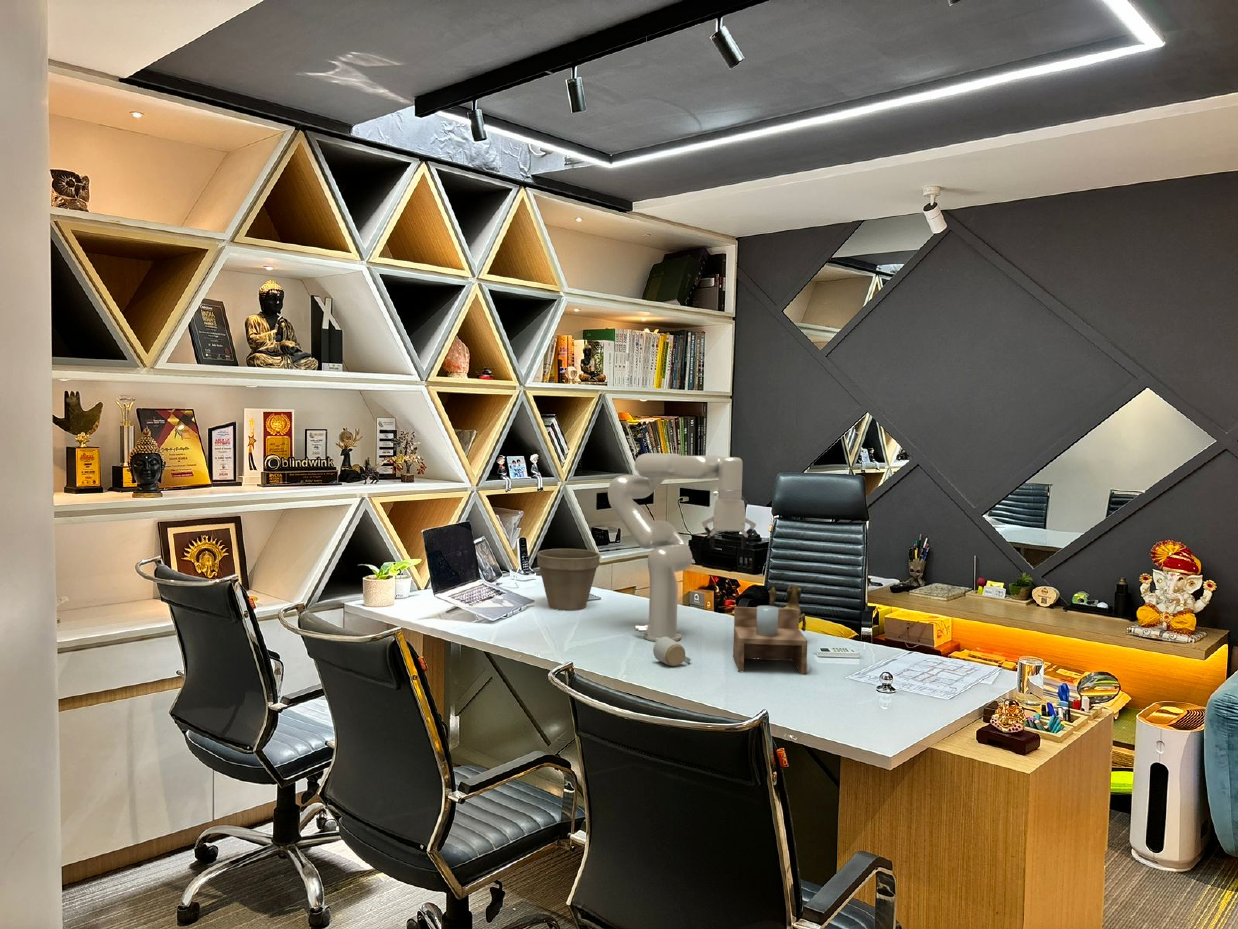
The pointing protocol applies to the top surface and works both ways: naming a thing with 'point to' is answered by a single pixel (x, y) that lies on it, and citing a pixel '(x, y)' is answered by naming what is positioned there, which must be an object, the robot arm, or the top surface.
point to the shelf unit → (769, 638)
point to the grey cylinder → (767, 621)
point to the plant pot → (567, 576)
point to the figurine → (790, 601)
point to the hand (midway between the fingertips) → (728, 548)
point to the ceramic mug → (669, 652)
